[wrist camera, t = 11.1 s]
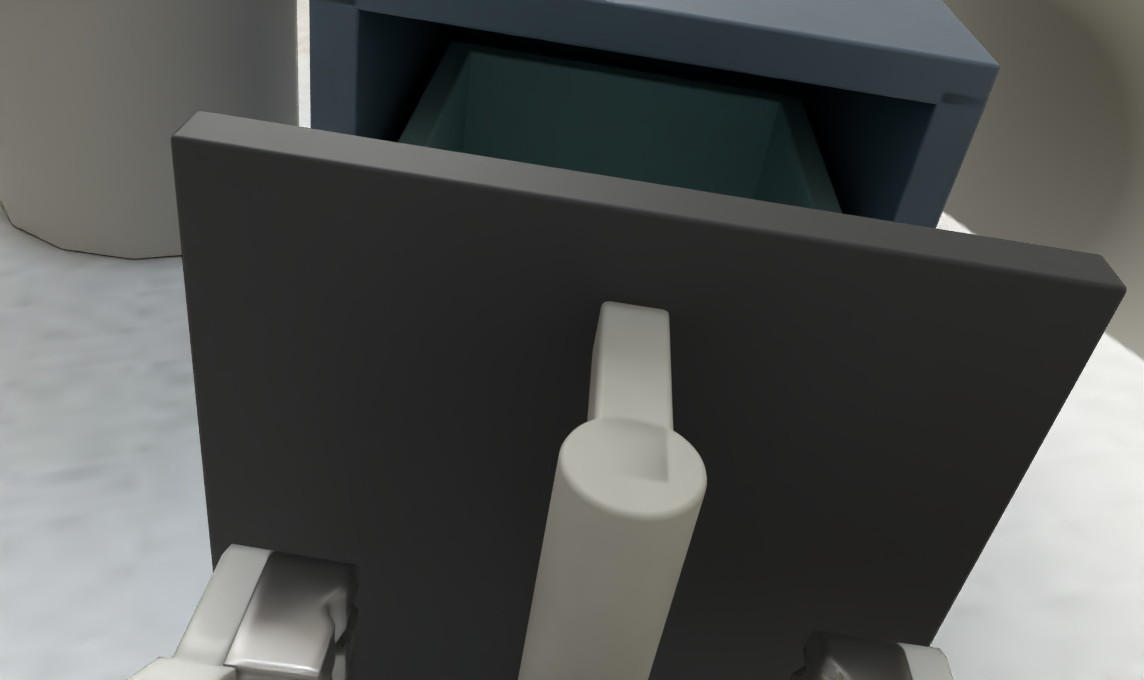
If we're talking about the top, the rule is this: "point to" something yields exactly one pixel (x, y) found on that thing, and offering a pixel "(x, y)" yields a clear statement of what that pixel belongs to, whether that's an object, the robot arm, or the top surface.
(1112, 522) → the top surface
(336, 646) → the robot arm
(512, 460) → the drawer with handle
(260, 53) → the cup
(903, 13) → the blue cabinet
